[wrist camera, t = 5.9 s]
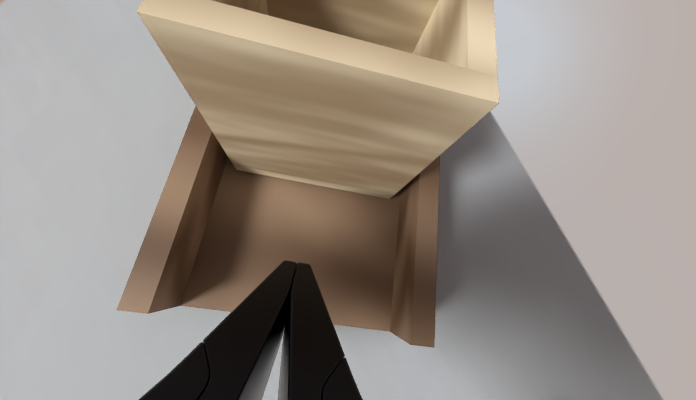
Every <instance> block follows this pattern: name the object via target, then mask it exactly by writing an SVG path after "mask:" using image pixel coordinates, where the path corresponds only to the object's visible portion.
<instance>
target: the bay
mask: <svg viewBox="0 0 696 400" xmlns="http://www.w3.org/2000/svg"><path fill="white" fill-rule="evenodd" d="M439 165H440V155H439V156H438V157H437V158H436V159H435V160H434V161H433V162H431V163H430V164H429V165H428V166H427V167H426V168H425V169H423V170H422V171H421V172H420V173H419V174H418V175H417V176H415V177H414V178H413V179H412V180H411V181H410V182H409V183H407V184H406V185H405V186H404V187H403V188H402V189H401V190H399V191H398V192H397V193H396V194H395V195H394V196H393V197H391V198H390V199H387V198H382V197H376V196H371V195H366V194H361V193H355V192H350V191H345V190H339V189H334V188H329V187H324V186H318V185H313V184H308V183H303V182H297V181H292V180H287V179H281V178H276V177H271V176H266V175H260V174H255V173H250V172H245V171H239V170H236V169H235V167H234V165H233V164H232V162H231V161H230V159H229V157H228V156H227V154H226V153H225V151H224V149H223V148H222V146H221V145H220V143H219V142H218V140H217V138H216V137H215V135H214V134H213V132H212V130H211V129H210V127H209V126H208V124H207V123H206V121H205V119H204V118H203V116H202V115H201V113H200V111H199V110H198V108H197V107H195V109H194V112H193V114H192V117H191V119H190V122H189V125H188V127H187V130H186V132H185V135H184V137H183V140H182V143H181V145H180V148H179V150H178V153H177V156H176V158H175V161H174V163H173V166H172V168H171V171H170V174H169V176H168V179H167V181H166V184H165V187H164V189H163V192H162V194H161V197H160V199H159V202H158V205H157V207H156V210H155V212H154V215H153V217H152V220H151V223H150V225H149V228H148V230H147V233H146V236H145V238H144V241H143V243H142V246H141V248H140V251H139V254H138V256H137V259H136V261H135V264H134V267H133V269H132V272H131V274H130V277H129V279H128V282H127V285H126V287H125V290H124V292H123V295H122V297H121V300H120V303H119V305H118V308H117V310H121V311H130V312H138V313H147V314H148V313H152V312H156V311H161V310H165V309H169V308H173V307H177V306H189V307H197V308H205V309H213V310H221V311H229V312H232V311H233V310H234V309H235V308H236V307H237V306H238V305H239V304H240V303H241V302H242V301H243V300H244V299H245V298H246V297H247V296H248V295H249V294H251V293H252V292H253V291H254V290H255V289H256V288H257V287H258V286H259V285H260V284H261V283H262V282H263V281H264V280H265V279H266V278H267V277H268V276H269V275H270V274H271V273H272V272H273V271H274V270H275V269H276V268H277V267H278V266H279V265H280V264H281V263H282V262H283V261H285V260H288V261H294V262H296V263H299V262H301V263H307V264H310V265H311V267H312V270H313V273H314V275H315V278H316V281H317V283H318V286H319V289H320V291H321V294H322V297H323V299H324V302H325V305H326V307H327V310H328V313H329V315H330V318H331V321H332V323H333V324H335V325H343V326H351V327H359V328H367V329H375V330H383V331H390V332H392V333H393V334H395V335H396V336H398V337H400V338H401V339H403V340H404V341H406V342H407V343H409V344H410V345H418V346H427V347H434V338H435V303H436V268H437V234H438V199H439Z"/></svg>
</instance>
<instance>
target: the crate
mask: <svg viewBox="0 0 696 400" xmlns="http://www.w3.org/2000/svg"><path fill="white" fill-rule="evenodd" d="M137 13H138V15H139V16H140V18H141V19H142V21H143V23H144V24H145V26H146V27H147V29H148V31H149V32H150V34H151V35H152V37H153V38H154V40H155V42H156V43H157V45H158V46H159V48H160V50H161V51H162V53H163V54H164V56H165V57H166V59H167V61H168V62H169V64H170V65H171V67H172V69H173V70H174V72H175V73H176V75H177V77H178V78H179V80H180V81H181V83H182V84H183V86H184V88H185V89H186V91H187V92H188V94H189V96H190V97H191V99H192V100H193V102H194V103H195V105H196V107H197V108H198V110H199V111H200V113H201V115H202V116H203V118H204V119H205V121H206V123H207V124H208V126H209V127H210V129H211V130H212V132H213V134H214V135H215V137H216V138H217V140H218V142H219V143H220V145H221V146H222V148H223V149H224V151H225V153H226V154H227V156H228V157H229V159H230V161H231V162H232V164H233V165H234V167H235V169H236V170H239V171H245V172H250V173H255V174H260V175H266V176H271V177H276V178H281V179H287V180H292V181H297V182H303V183H308V184H313V185H318V186H324V187H329V188H334V189H339V190H345V191H350V192H355V193H361V194H366V195H371V196H376V197H382V198H387V199H390V198H391V197H393V196H394V195H395V194H396V193H397V192H398V191H399V190H401V189H402V188H403V187H404V186H405V185H406V184H407V183H409V182H410V181H411V180H412V179H413V178H414V177H415V176H417V175H418V174H419V173H420V172H421V171H422V170H423V169H425V168H426V167H427V166H428V165H429V164H430V163H431V162H433V161H434V160H435V159H436V158H437V157H438V156H439V155H441V154H442V153H443V152H444V151H445V150H446V149H447V148H449V147H450V146H451V145H452V144H453V143H454V142H455V141H457V140H458V139H459V138H460V137H461V136H462V135H463V134H465V133H466V132H467V131H468V130H469V129H470V128H471V127H473V126H474V125H475V124H476V123H477V122H478V121H479V120H481V119H482V118H483V117H484V116H485V115H486V114H487V113H489V112H490V111H491V110H492V109H493V108H494V107H495V106H496V105H498V104H499V90H498V72H497V54H496V36H495V20H494V19H495V18H494V0H143V1H142V3H141V5H140V7H139V9H138V10H137Z"/></svg>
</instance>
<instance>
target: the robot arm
mask: <svg viewBox="0 0 696 400" xmlns="http://www.w3.org/2000/svg"><path fill="white" fill-rule="evenodd" d="M284 328H285V329H284ZM283 332H284V335H283ZM282 336H283V344H282V356H281V367H280V379H279V391H278V400H363V399H362V397H361V395H360V393H359V390H358V388H357V385H356V383H355V380H354V378H353V376H352V373H351V371H350V368H349V365H348V363H347V360H346V358H344V356H345V355H344V352H343V350H342V347H341V344H340V342H339V339H338V336H337V334H336V331H335V329H334V326H333V323H332V321H331V318H330V315H329V313H328V310H327V307H326V305H325V302H324V299H323V297H322V294H321V291H320V289H319V286H318V283H317V281H316V278H315V275H314V273H313V270H312V267H311V265H310V264H307V263H301V262H299V263H296V262H294V261H288V260H285V261H283V262H282V263H281V264H280V265H279V266H278V267H277V268H276V269H275V270H274V271H273V272H272V273H271V274H270V275H269V276H268V277H267V278H266V279H265V280H264V281H263V282H262V283H261V284H260V285H259V286H258V287H257V288H256V289H255V290H254V291H253V292H252V293H251V294H249V295H248V296H247V297H246V298H245V299H244V300H243V301H242V302H241V303H240V304H239V305H238V306H237V307H236V308H235V309H234V310H233V311H232V312H231V313H230V314H229V315H228V316H227V317H226V318H225V319H224V320H223V321H222V322H221V323H220V324H219V325H218V326H217V327H216V328H215V329H214V330H213V331H212V332H211V333H210V334H209V335H208V336H207V337H206V338H205V339H204V340H203V343H200V344H199V345H198V346H197V347H196V348H195V349H194V350H193V351H192V352H191V353H190V354H189V355H188V356H187V357H186V358H185V359H183V360H182V361H181V362H180V363H179V364H178V365H177V366H176V367H175V368H174V369H173V370H172V371H171V372H170V373H169V374H168V375H167V376H165V377H164V378H163V379H162V380H161V381H160V382H158V383H157V384H156V385H155V386H154V387H153V388H152V389H150V390H149V391H148V392H147V393H146V394H145V395H143V396H142V397H141V398H140V399H139V400H262V397H263V394H264V391H265V388H266V385H267V382H268V379H269V376H270V373H271V370H272V367H273V364H274V361H275V358H276V355H277V352H278V349H279V346H280V342H281V339H282Z"/></svg>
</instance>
